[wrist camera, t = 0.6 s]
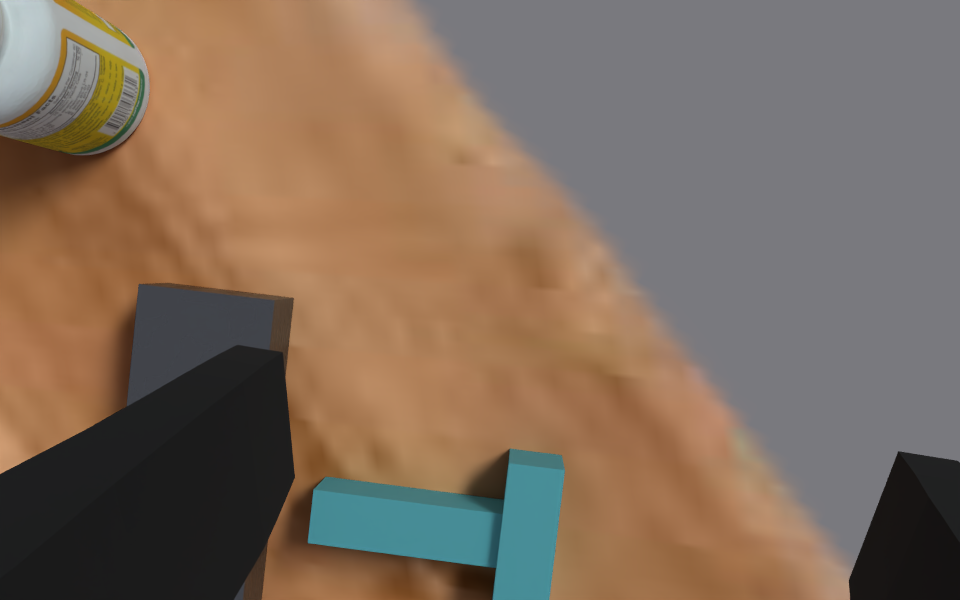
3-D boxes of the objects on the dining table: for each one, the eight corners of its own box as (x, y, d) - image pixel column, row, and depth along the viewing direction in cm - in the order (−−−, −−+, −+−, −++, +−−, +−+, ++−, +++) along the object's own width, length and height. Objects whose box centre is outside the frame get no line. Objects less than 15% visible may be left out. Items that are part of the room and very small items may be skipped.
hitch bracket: (251, 689, 33) (230, 723, 31) (128, 672, 33) (97, 704, 31) (293, 298, 33) (274, 300, 30) (167, 282, 33) (138, 284, 30)
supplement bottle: (172, 132, 33) (25, 74, 23) (45, 175, 33) (-152, 135, 23) (128, -1, 32) (-37, -115, 23) (1, 43, 33) (-214, -51, 23)
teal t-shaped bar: (543, 607, 33) (544, 634, 30) (315, 576, 33) (298, 601, 30) (561, 454, 32) (564, 470, 30) (331, 426, 33) (315, 438, 30)
